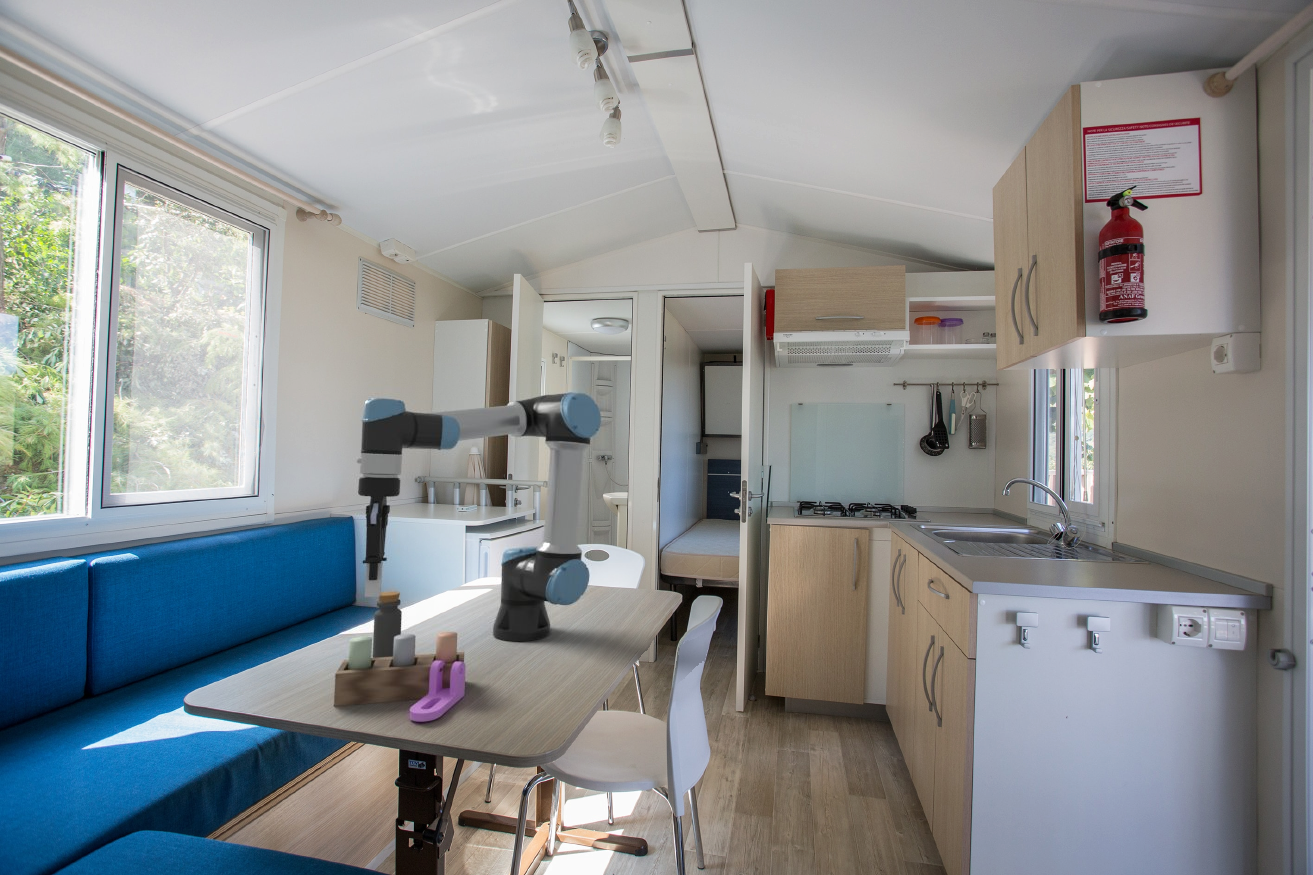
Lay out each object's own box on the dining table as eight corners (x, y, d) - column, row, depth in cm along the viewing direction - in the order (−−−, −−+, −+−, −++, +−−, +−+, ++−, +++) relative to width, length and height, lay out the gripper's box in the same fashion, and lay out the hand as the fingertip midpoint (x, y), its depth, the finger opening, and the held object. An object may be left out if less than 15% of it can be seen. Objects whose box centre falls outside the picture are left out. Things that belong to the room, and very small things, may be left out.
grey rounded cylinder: (415, 665, 122) (416, 633, 122) (413, 672, 118) (414, 639, 118) (393, 667, 120) (395, 634, 121) (391, 673, 117) (392, 640, 117)
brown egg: (456, 662, 124) (457, 631, 124) (455, 669, 120) (457, 636, 120) (436, 664, 123) (437, 632, 123) (434, 670, 119) (436, 637, 119)
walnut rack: (463, 680, 126) (464, 651, 126) (462, 694, 118) (463, 664, 119) (342, 690, 119) (344, 659, 120) (333, 706, 112) (335, 673, 112)
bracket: (437, 693, 118) (438, 657, 119) (464, 695, 118) (465, 659, 118) (403, 720, 106) (405, 680, 106) (433, 722, 105) (435, 681, 105)
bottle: (389, 663, 135) (392, 596, 136) (366, 660, 137) (369, 594, 137) (405, 654, 141) (407, 591, 142) (383, 652, 142) (386, 589, 143)
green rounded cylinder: (372, 668, 119) (373, 635, 119) (368, 675, 115) (370, 641, 116) (350, 670, 118) (351, 636, 118) (346, 677, 114) (347, 643, 114)
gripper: (364, 474, 124) (357, 589, 123) (353, 476, 111) (345, 603, 110) (403, 475, 126) (396, 588, 125) (397, 477, 114) (389, 602, 112)
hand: (372, 595), depth 117 cm, fingers closed
